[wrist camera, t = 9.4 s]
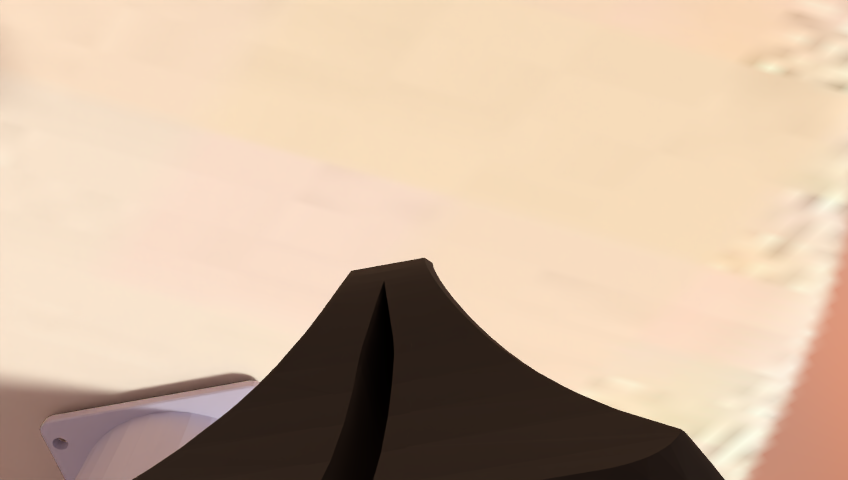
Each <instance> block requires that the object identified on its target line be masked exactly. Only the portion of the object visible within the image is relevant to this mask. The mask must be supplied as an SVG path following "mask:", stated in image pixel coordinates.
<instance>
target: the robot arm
mask: <svg viewBox="0 0 848 480" xmlns="http://www.w3.org/2000/svg"><path fill="white" fill-rule="evenodd" d="M40 432H41V435H42V437H43V439H44V441H45V442H46V444H47V446H48V448H49V450H50V452H51V454H52V456H53V458H54V459H55V461H56V463H57V465H58V467H59V469H60V471H61V473H62V474H63V476H64V478H65V480H724V478H723V477H722V476H721V475H720V473H719V472H718V471H717V470H716V468H715V467H714V466H713V464H712V463H711V462H710V461H709V460H708V459H707V457H706V456H705V455H704V454H703V453H702V451H701V450H700V449H699V448H698V447H697V445H696V444H695V443H694V442H693V441H692V440H691V438H690V437H689V436H688V435H687V434H686V433H685V432H684V431H683V430H681V429H678V428H675V427H672V426H669V425H665V424H662V423H659V422H655V421H652V420H649V419H646V418H642V417H639V416H636V415H633V414H629V413H626V412H623V411H620V410H617V409H614V408H612V407H609V406H607V405H604V404H602V403H600V402H597V401H595V400H592V399H590V398H587V397H585V396H583V395H580V394H578V393H576V392H574V391H572V390H570V389H568V388H566V387H564V386H562V385H560V384H558V383H557V382H555V381H553V380H551V379H549V378H547V377H546V376H544V375H542V374H540V373H538V372H537V371H535V370H534V369H532V368H531V367H529V366H527V365H526V364H524V363H523V362H522V361H520V360H519V359H518V358H516V357H515V356H513V355H512V354H511V353H509V352H508V351H507V350H505V349H504V348H503V347H502V346H501V345H499V344H498V343H497V342H496V341H495V340H493V339H492V338H491V337H490V336H489V335H488V334H487V333H486V332H485V331H484V330H483V329H481V328H480V327H479V326H478V325H477V324H476V323H475V322H474V321H473V320H472V319H471V318H470V317H469V316H468V315H467V313H466V312H465V311H464V310H463V309H462V308H461V307H460V305H459V304H458V303H457V302H456V301H455V300H454V298H453V297H452V296H451V295H450V293H449V292H448V291H447V289H446V288H445V287H444V285H443V284H442V282H441V281H440V279H439V277H438V276H437V274H436V272H435V270H434V268H433V263H432V262H430V261H429V260H427V259H426V258H421V259H415V260H409V261H404V262H398V263H393V264H387V265H381V266H376V267H370V268H365V269H359V270H353V271H351V272H350V273H349V275H348V276H347V277H346V279H345V280H344V281H343V283H342V284H341V285H340V287H339V288H338V290H337V291H336V292H335V294H334V295H333V297H332V298H331V299H330V301H329V302H328V303H327V305H326V306H325V308H324V309H323V310H322V312H321V313H320V314H319V316H318V317H317V318H316V320H315V321H314V322H313V324H312V325H311V326H310V327H309V329H308V330H307V331H306V333H305V334H304V335H303V336H302V337H301V338H300V340H299V341H298V342H297V343H296V344H295V345H294V346H293V348H292V349H291V350H290V351H289V352H288V353H287V355H286V356H285V357H284V358H283V359H282V360H281V361H280V363H279V364H278V365H277V366H276V367H275V368H274V369H273V370H272V371H271V372H270V373H269V374H268V375H267V376H266V377H265V378H264V379H263V380H262V381H261V382H258V381H244V382H238V383H232V384H227V385H221V386H215V387H210V388H204V389H198V390H193V391H187V392H181V393H176V394H170V395H164V396H159V397H153V398H147V399H142V400H136V401H130V402H125V403H119V404H113V405H108V406H102V407H96V408H91V409H85V410H79V411H74V412H68V413H62V414H57V415H52V416H49V417H48V418H47V419H46V420H45V421H44V422H43V424H42V425H41V428H40ZM59 438H62V439H64V440H66V441H67V442H63V441H61V440H59Z"/></svg>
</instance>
